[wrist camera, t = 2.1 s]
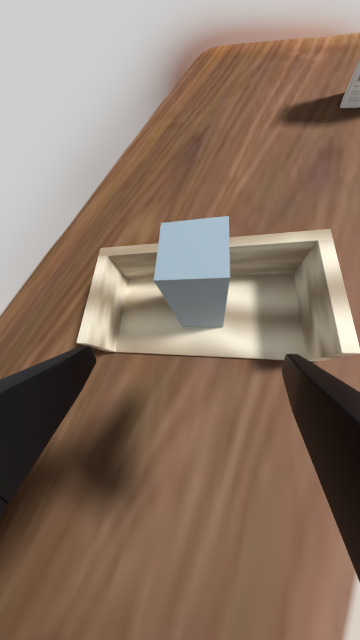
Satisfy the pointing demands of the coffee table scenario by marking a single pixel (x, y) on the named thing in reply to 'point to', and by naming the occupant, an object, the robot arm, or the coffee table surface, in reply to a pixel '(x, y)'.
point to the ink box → (352, 91)
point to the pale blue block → (195, 270)
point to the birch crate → (229, 303)
